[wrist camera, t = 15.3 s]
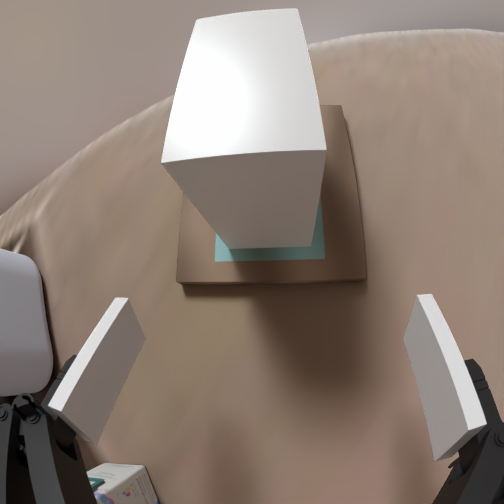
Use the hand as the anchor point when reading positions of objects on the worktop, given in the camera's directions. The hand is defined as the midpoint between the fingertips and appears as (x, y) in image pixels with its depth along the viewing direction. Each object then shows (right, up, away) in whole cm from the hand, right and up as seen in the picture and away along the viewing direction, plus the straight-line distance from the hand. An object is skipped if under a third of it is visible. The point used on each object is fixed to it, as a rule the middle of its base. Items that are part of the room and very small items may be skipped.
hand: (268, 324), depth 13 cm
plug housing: (+1, +9, +10) cm, 13 cm away
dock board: (+1, +9, +11) cm, 14 cm away
